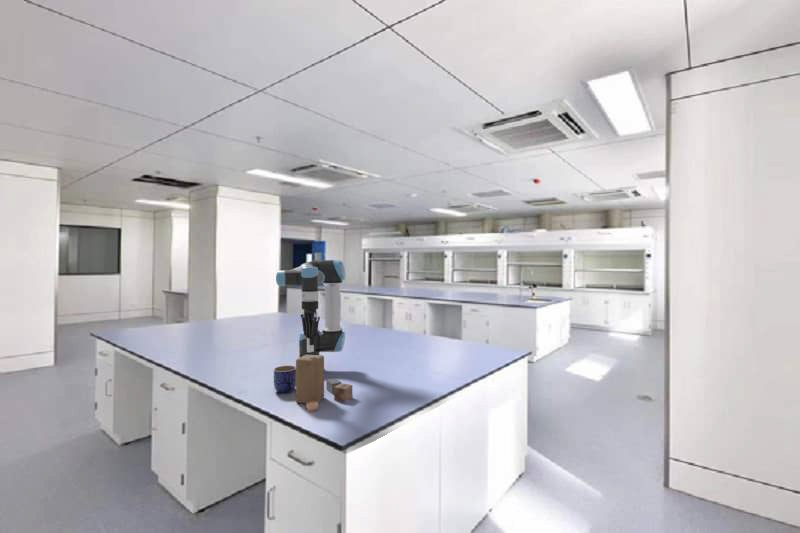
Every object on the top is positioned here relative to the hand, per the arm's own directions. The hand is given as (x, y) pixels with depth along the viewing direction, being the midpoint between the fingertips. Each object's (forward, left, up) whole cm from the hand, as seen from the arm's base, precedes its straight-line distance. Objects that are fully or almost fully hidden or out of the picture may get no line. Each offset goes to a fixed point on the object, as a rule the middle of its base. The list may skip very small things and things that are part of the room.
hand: (310, 351), depth 171 cm
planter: (-20, -2, -23) cm, 30 cm away
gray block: (-3, +15, -23) cm, 27 cm away
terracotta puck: (+10, -5, -23) cm, 25 cm away
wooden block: (0, 0, -23) cm, 23 cm away
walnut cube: (+9, +12, -23) cm, 27 cm away
